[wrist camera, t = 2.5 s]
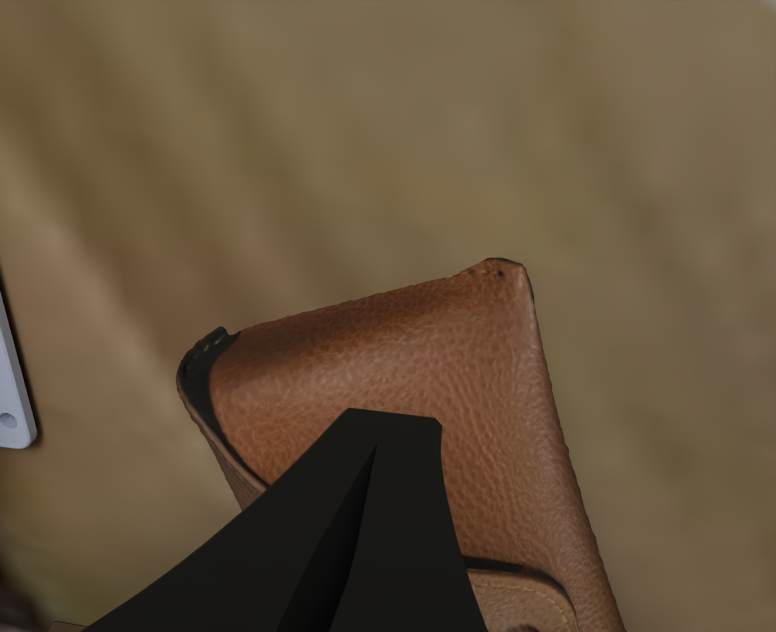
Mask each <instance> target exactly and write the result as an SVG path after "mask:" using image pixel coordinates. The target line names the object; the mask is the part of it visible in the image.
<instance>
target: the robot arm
mask: <svg viewBox="0 0 776 632" xmlns="http://www.w3.org/2000/svg"><path fill="white" fill-rule="evenodd" d="M11 415H12V416H13V417H12V416H11ZM14 417H15V418H14ZM442 427H443V426H442V425H441V424H440V422H439V421H438V420H437V419H436V418H434V417H425V416H417V415H408V414H400V413H392V412H383V411H375V410H366V409H358V408H348V409H346V410H345V411H344V412H342V413H341V414H340V415H339V416H338V417H337V418H336V420H335V421H334V422H333V423H332V424H331V425H330V426H329V427H328V428H327V429H326V430H325V431H324V432H323V434H322V435H321V436H320V437H319V438H318V439H317V440H316V441H315V442H314V443H313V444H312V445H311V446H310V447H309V448H308V449H307V450H306V451H305V452H304V453H303V454H302V455H301V456H300V457H299V458H298V459H297V460H296V461H295V462H294V463H293V464H292V465H291V466H290V467H289V468H288V469H287V470H286V471H285V472H284V473H283V474H282V475H281V476H280V477H279V478H278V479H277V480H276V481H275V482H274V483H273V484H271V485H270V486H269V487H268V488H267V489H266V490H265V491H264V492H263V493H262V494H261V495H260V496H259V497H258V498H257V499H256V500H254V501H253V502H252V503H251V504H250V505H249V506H248V507H247V508H245V509H244V510H243V511H242V512H241V513H240V514H238V515H237V516H236V517H235V518H234V519H233V520H231V521H230V522H229V523H228V524H227V525H226V526H224V527H223V528H222V529H221V530H220V531H219V532H217V533H216V534H215V535H214V536H213V537H212V538H210V539H209V540H208V541H207V542H206V543H204V544H203V545H202V546H201V547H199V548H198V549H197V550H196V551H194V552H193V553H192V554H191V555H189V556H188V557H187V558H185V559H184V560H183V561H182V562H180V563H179V564H178V565H176V566H175V567H174V568H172V569H171V570H170V571H168V572H167V573H166V574H164V575H163V576H162V577H160V578H159V579H157V580H156V581H155V582H153V583H152V584H150V585H149V586H148V587H146V588H145V589H144V590H142V591H141V592H139V593H138V594H137V595H135V596H134V597H132V598H131V599H129V600H128V601H126V602H125V603H123V604H122V605H120V606H119V607H117V608H116V609H114V610H113V611H111V612H110V613H108V614H107V615H105V616H104V617H102V618H101V619H99V620H98V621H96V622H94V623H93V624H91V625H90V626H88V627H86V628H85V629H83V630H82V631H80V632H488V630H487V627H486V624H485V622H484V619H483V616H482V614H481V611H480V608H479V605H478V603H477V600H476V597H475V594H474V591H473V588H472V585H471V582H470V579H469V576H468V573H467V570H466V567H465V564H464V561H463V557H462V554H461V550H460V547H459V543H458V540H457V536H456V532H455V528H454V524H453V520H452V516H451V512H450V507H449V503H448V499H447V494H446V489H445V483H444V476H443V469H442V461H441V442H442ZM36 437H37V429H36V425H35V422H34V418H33V414H32V410H31V406H30V403H29V399H28V395H27V391H26V388H25V384H24V380H23V376H22V372H21V369H20V365H19V361H18V357H17V353H16V350H15V346H14V342H13V338H12V335H11V331H10V327H9V323H8V319H7V316H6V312H5V308H4V304H3V301H2V297H1V293H0V447H8V448H15V449H24V448H26V447H28V446H29V445H30V444H31V443H32V442H33V441H34V440H35V438H36Z"/></svg>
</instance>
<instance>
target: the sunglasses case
mask: <svg viewBox="0 0 776 632" xmlns="http://www.w3.org/2000/svg"><path fill="white" fill-rule="evenodd" d="M176 385H177V391H178V392H179V395H180V398H181V399H182V401H183V403H184V405H185V408H186V409H187V411H188V412H189V414H190V416H191V419H192V420H193V421H194V422H195V423H196V424H197V425H198V426H199V429H200V431H201V433H202V434H203V435H204V436H205V437H206V439H207V441H208V443H209V445H210V447H211V449H212V450H213V452H214V454H215V456H216V459H217V461H218V463H219V464H220V467H221V469H222V471H223V473H224V475H225V478H226V480H227V482H228V483H229V485H230V488H231V489H232V491H233V493H234V495H235V497H236V499H237V501H238V503H239V505H240V507H241V509H242V511H243V510H244V509H245V508H247V507H248V506H249V505H250V504H251V503H252V502H253V501H254V500H256V499H257V498H258V497H259V496H260V495H261V494H262V493H263V492H264V491H265V490H266V489H267V488H268V487H269V486H270V485H271V484H273V483H274V482H275V481H276V480H277V479H278V478H279V477H280V476H281V475H282V474H283V473H284V472H285V471H286V470H287V469H288V468H289V467H290V466H291V465H292V464H293V463H294V462H295V461H296V460H297V459H298V458H299V457H300V456H301V455H302V454H303V453H304V452H305V451H306V450H307V449H308V448H309V447H310V446H311V445H312V444H313V443H314V442H315V441H316V440H317V439H318V438H319V437H320V436H321V435H322V434H323V432H324V431H325V430H326V429H327V428H328V427H329V426H330V425H331V424H332V423H333V422H334V421H335V420H336V418H337V417H338V416H339V415H340V414H341V413H342V412H344V411H345V410H346V409H348V408H358V409H366V410H375V411H383V412H392V413H400V414H408V415H417V416H425V417H434V418H436V419H437V420H438V421H439V422H440V424H441V425H442V426H443V427H442V442H441V461H442V469H443V476H444V483H445V489H446V494H447V499H448V503H449V507H450V512H451V516H452V520H453V524H454V528H455V532H456V536H457V540H458V543H459V547H460V550H461V554H462V557H463V561H464V564H465V567H466V570H467V573H468V576H469V579H470V582H471V585H472V588H473V591H474V594H475V597H476V600H477V603H478V605H479V608H480V611H481V614H482V616H483V619H484V622H485V624H486V627H487V630H488V632H626V630H625V628H624V624H623V622H622V619H621V616H620V613H619V611H618V608H617V604H616V600H615V597H614V595H613V593H612V590H611V586H610V584H609V581H608V577H607V574H606V572H605V569H604V565H603V561H602V559H601V557H600V554H599V550H598V546H597V542H596V537H595V535H594V534H593V532H592V529H591V525H590V522H589V519H588V516H587V514H586V512H585V509H584V505H583V501H582V497H581V491H580V488H579V486H578V484H577V479H576V475H575V472H574V470H573V467H572V464H571V461H570V458H569V449H568V447H567V446H566V444H565V441H564V435H563V432H562V428H561V426H560V420H559V418H558V413H557V409H556V405H555V401H554V397H553V393H552V384H551V381H550V378H549V373H548V369H547V362H546V360H545V355H544V351H543V347H542V341H541V336H540V331H539V325H538V321H537V317H536V311H535V306H534V295H533V290H532V287H531V283H530V280H529V277H528V275H527V272H526V268H525V267H524V266H523V265H522V264H520V263H517V262H513V261H511V260H508V259H504V258H487V259H485V260H483V261H481V262H480V263H479V264H476V265H473V266H471V267H469V268H467V269H465V270H463V271H461V272H460V273H459V274H457V275H451V276H448V277H445V278H442V279H436V280H431V281H428V282H424V283H420V284H417V285H410V286H408V287H404V288H399V289H397V290H393V291H387V292H385V293H378V294H374V295H371V296H368V297H364V298H361V299H358V300H351V301H347V302H343V303H341V304H338V305H332V306H327V307H325V308H320V309H316V310H313V311H308V312H302V313H300V314H297V315H294V316H287V317H285V318H282V319H279V320H276V321H270V322H265V323H261V324H258V325H254V326H253V327H248V328H245V329H243V330H242V331H239V332H238V333H236V334H234V335H229V334H228V333H227V331H226V329H225V328H223V327H221V326H220V327H218V328H217V329H215V330H214V331H212V332H211V333H209V334H208V335H207V336H205V337H204V338H203V339H201V340H199V341H198V342H197V343H196V344H195V346H194V347H193V348H192V349H190V350H189V351H188V352H187V353H186V354H185V356H184V358H183V360H181V363H180V365H179V367H178V370H177V375H176Z"/></svg>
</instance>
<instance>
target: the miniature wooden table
mask: <svg viewBox="0 0 776 632" xmlns="http://www.w3.org/2000/svg"><path fill="white" fill-rule="evenodd" d="M85 628H86V627H84V626H78V625H72V624H67V623H61V622H54V623H53V624H52V626H51V627H50V629H49V630H48V631H47V632H80V631H82V630H83V629H85Z"/></svg>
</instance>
